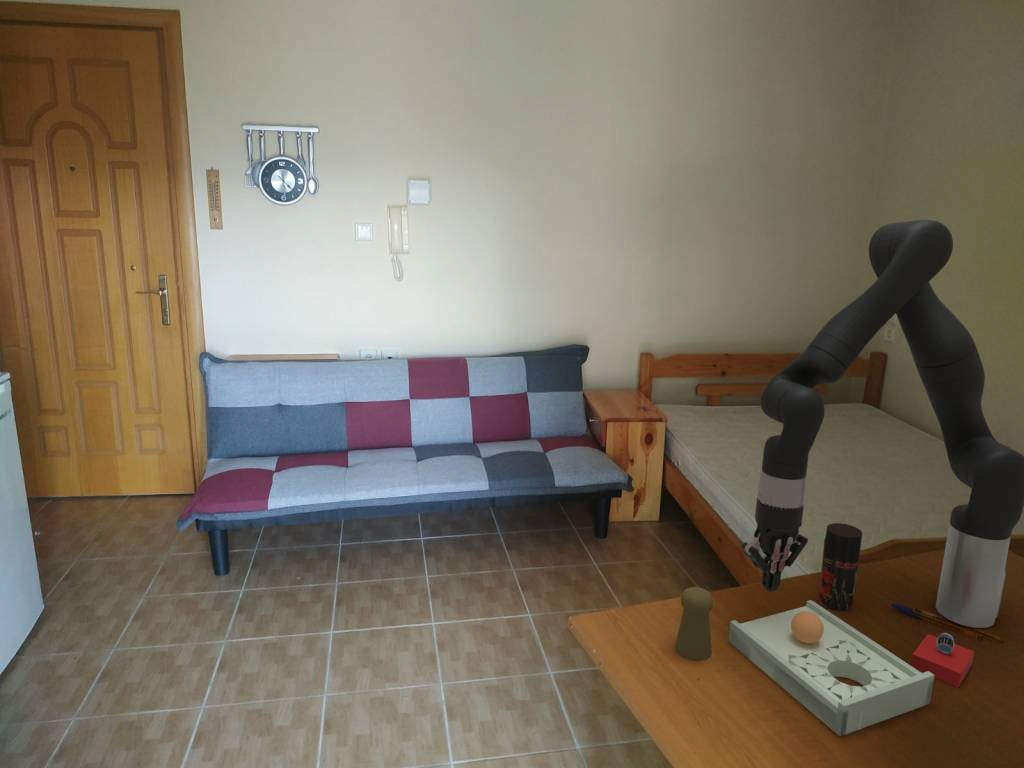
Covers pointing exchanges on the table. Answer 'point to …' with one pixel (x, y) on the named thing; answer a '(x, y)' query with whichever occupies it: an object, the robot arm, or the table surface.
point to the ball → (807, 627)
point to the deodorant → (839, 566)
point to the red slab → (943, 659)
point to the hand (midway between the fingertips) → (769, 588)
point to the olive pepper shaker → (695, 625)
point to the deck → (833, 670)
